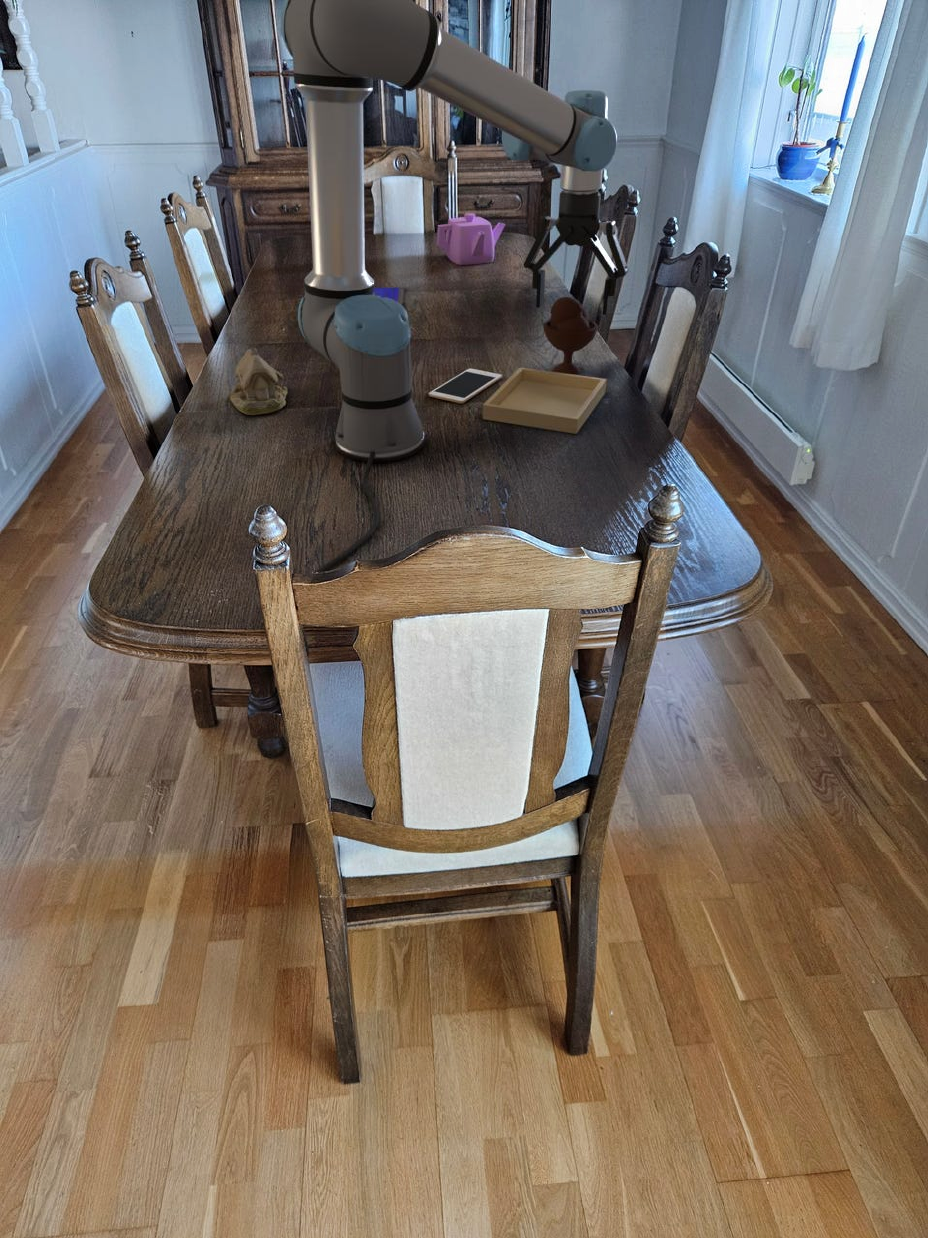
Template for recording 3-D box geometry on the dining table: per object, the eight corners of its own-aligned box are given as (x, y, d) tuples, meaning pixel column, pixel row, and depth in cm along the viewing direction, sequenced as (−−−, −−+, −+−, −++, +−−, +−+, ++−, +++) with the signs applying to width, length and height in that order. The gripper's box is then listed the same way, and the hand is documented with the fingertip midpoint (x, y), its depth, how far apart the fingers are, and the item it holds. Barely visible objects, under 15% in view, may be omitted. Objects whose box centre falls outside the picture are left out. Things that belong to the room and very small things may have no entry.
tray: (576, 434, 146) (577, 419, 144) (482, 419, 151) (482, 404, 150) (605, 392, 162) (606, 378, 160) (519, 380, 167) (519, 367, 165)
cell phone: (502, 377, 168) (502, 374, 167) (462, 404, 157) (462, 400, 156) (469, 370, 171) (469, 367, 171) (427, 396, 160) (427, 393, 160)
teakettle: (457, 249, 257) (456, 206, 249) (507, 255, 250) (508, 210, 243) (431, 262, 244) (430, 216, 237) (482, 268, 238) (483, 221, 231)
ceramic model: (226, 392, 162) (217, 341, 156) (283, 384, 165) (276, 334, 159) (237, 419, 152) (227, 365, 146) (297, 410, 155) (290, 357, 149)
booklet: (343, 319, 199) (343, 316, 199) (352, 290, 219) (352, 287, 219) (395, 318, 199) (395, 315, 199) (399, 290, 219) (399, 287, 219)
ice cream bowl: (592, 381, 166) (599, 305, 157) (537, 377, 168) (540, 301, 159) (596, 363, 175) (602, 289, 166) (543, 360, 176) (547, 287, 168)
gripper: (652, 190, 150) (638, 309, 163) (522, 183, 158) (519, 297, 171) (643, 198, 145) (630, 321, 158) (509, 190, 152) (507, 307, 165)
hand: (572, 309), depth 164 cm, fingers open, 13 cm apart
